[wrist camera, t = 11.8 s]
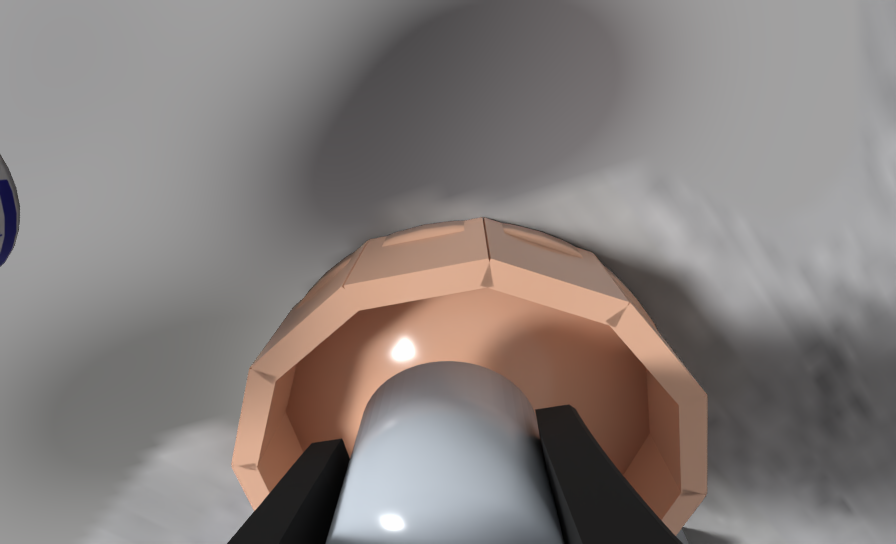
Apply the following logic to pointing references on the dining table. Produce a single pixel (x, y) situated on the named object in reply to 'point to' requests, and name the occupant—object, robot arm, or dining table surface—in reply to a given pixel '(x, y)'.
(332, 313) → the terracotta bowl
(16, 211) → the energy drink
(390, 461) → the slate pebble
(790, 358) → the dining table surface
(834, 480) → the dining table surface
